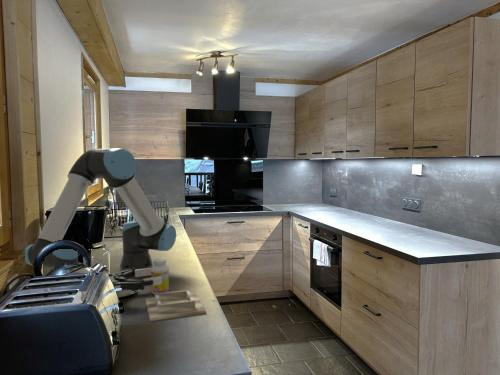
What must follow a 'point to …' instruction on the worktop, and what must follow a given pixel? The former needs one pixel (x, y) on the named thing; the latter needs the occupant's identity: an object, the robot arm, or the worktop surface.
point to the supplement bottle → (158, 271)
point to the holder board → (174, 305)
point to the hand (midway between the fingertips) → (156, 275)
